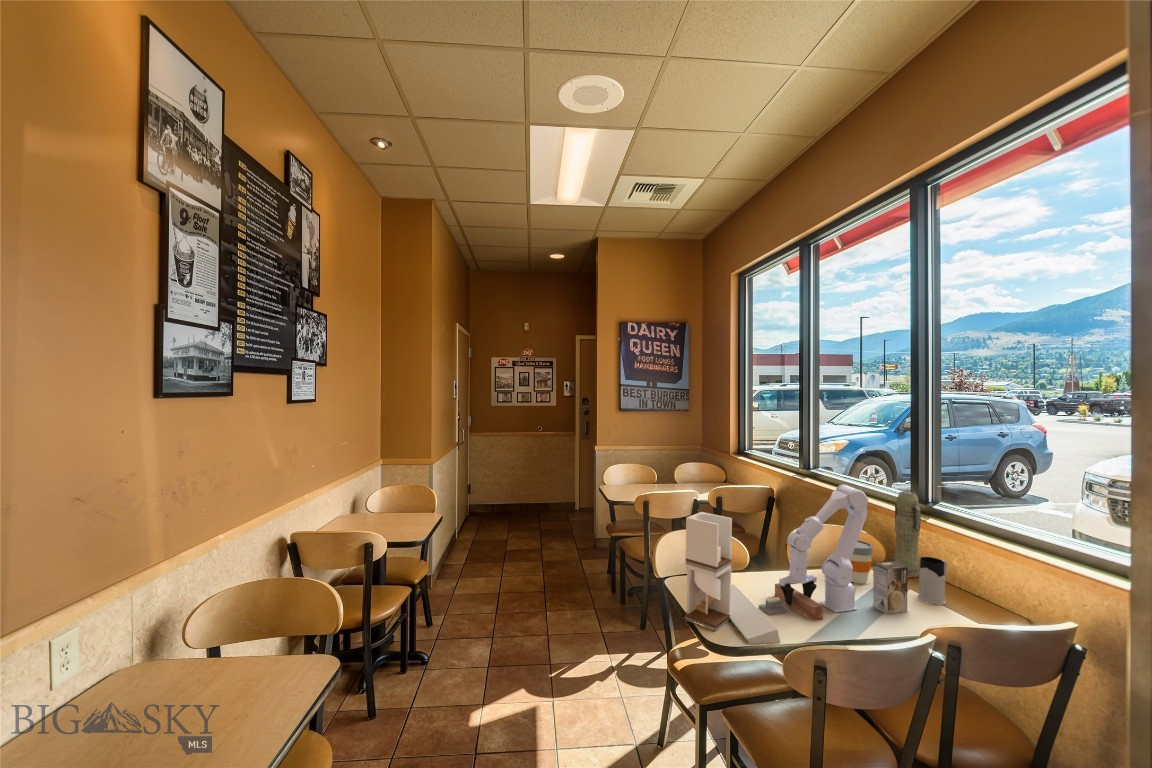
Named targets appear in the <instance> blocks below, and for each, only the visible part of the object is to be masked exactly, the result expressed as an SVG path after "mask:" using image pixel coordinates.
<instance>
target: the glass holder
mask: <svg viewBox="0 0 1152 768" xmlns="http://www.w3.org/2000/svg"><path fill="white" fill-rule="evenodd" d="M947 570H948V563H947V561H946V560H943V559H941V558H940V559H939V558H935V557H931V556H921V557H920V559H919V571H918V574H919V576H918V577H919V579H918V580H919V581H918V584H919V585H918V588H919V589H918V594H917V599H918V598H919V599H918V600H920V601H921V600H922V602H925V603H926V602H927V603H926V604H931V605H934V604H936V606H944V604H945V603H946V604H947V601H946V599H945V597H946V596H945V592H946V577H947ZM946 604H945V605H946Z"/></svg>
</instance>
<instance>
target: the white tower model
mask: <svg viewBox="0 0 1152 768" xmlns="http://www.w3.org/2000/svg"><path fill="white" fill-rule="evenodd" d="M685 521H686V522H685V569H686V570H687V571H686V573H687V574H686V613H684V620H685V619H686V620H685V621H686V622H689V623H692V622H696V623H699V624H702V625H704V626H705V627H708V628H711V629H713V630H715V631H716V632H718V631H719V630H720V629H721V628H723V627H724V626H725V625H726V624H727V622H728V623H729V622H731V620H730V617H729V616H730V612H731V585H732V539H733V538H732V537H733V536H732V534H733V533H732V531H733V530H732V529H733V526H732V525H733V518H732V517H728V516H723V515H718V514H714V513H709V512H704V511H700V512H697V513H695V514H692V515H689V516H687V517H686V519H685ZM724 624H725V625H724ZM723 625H724V626H723ZM722 626H723V627H722ZM705 627H704V628H705ZM720 627H721V628H720ZM719 628H720V629H719ZM718 629H719V630H718ZM715 631H714V632H715Z"/></svg>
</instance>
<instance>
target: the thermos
mask: <svg viewBox="0 0 1152 768" xmlns="http://www.w3.org/2000/svg"><path fill="white" fill-rule="evenodd" d="M921 513H922V511H921V508H920V506H919V498H918V496H917V493H915V492H913V491H900V492H899V493H898V495H897V498H896V501H895V503H894V532H895V554H894V556H893V557H894V558H893V559H894V561H893V562H896V563H898V564H901V565H903V566H906V567H908V576H912V577H915V576H918V575H919V571H920V559H919V536H920V533H921V532H920V531H921V517H922V516H921ZM918 577H919V576H918Z"/></svg>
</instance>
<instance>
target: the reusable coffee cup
mask: <svg viewBox="0 0 1152 768" xmlns="http://www.w3.org/2000/svg"><path fill="white" fill-rule="evenodd" d="M873 549H874V548H873V545H872V544H871V543H869V542H866V541H863V540H859V539H858V541H857V543H856V546H855V549H854V551H853V554H852V557H851V559H850V562H851V564H852V567H853V570H852V580H851V582H854V583H853V584H856V583H865V584H867V583H868V578H869V572H871V569H872V561H873V559H872V556H873V554H874V551H873ZM851 582H850V583H851ZM866 582H867V583H866Z"/></svg>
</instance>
